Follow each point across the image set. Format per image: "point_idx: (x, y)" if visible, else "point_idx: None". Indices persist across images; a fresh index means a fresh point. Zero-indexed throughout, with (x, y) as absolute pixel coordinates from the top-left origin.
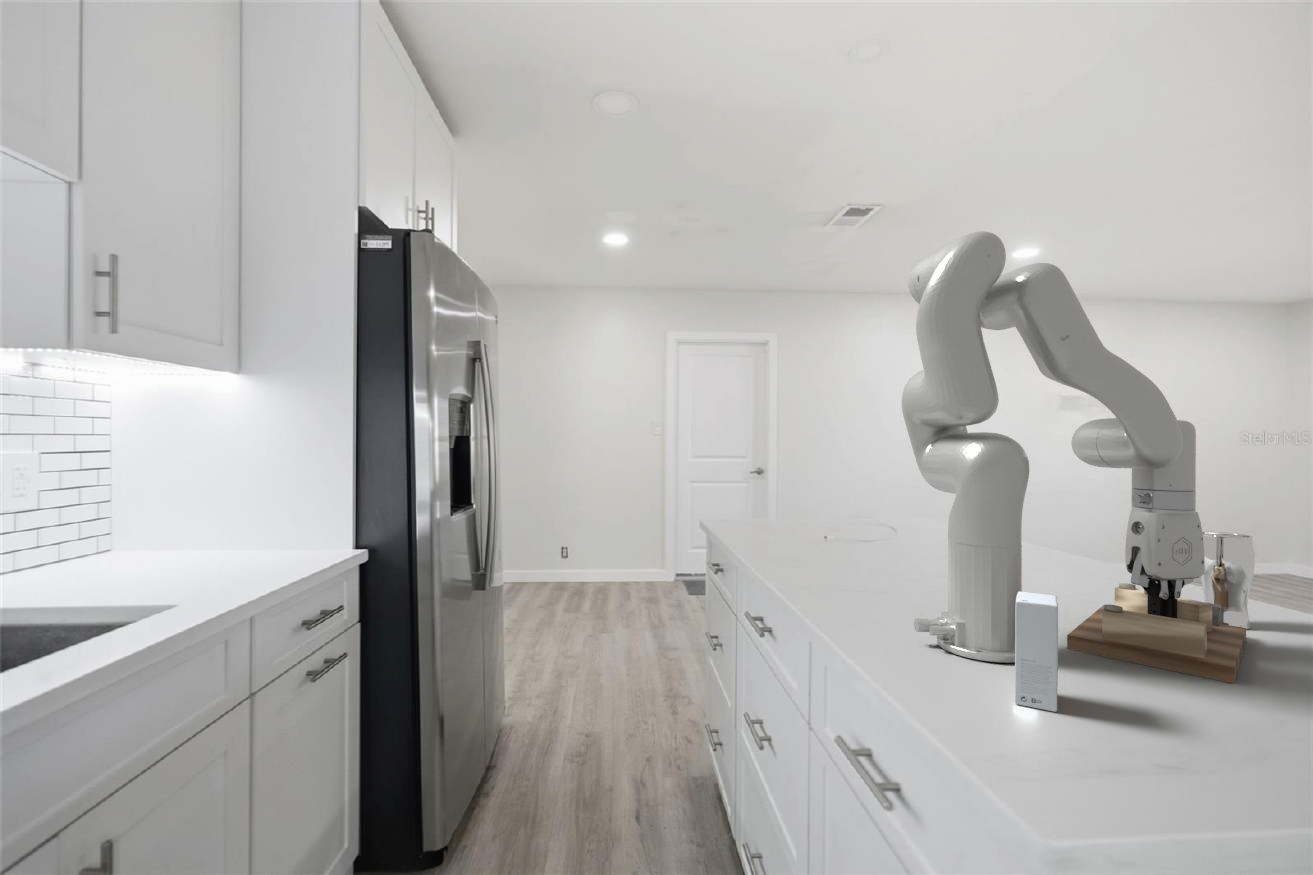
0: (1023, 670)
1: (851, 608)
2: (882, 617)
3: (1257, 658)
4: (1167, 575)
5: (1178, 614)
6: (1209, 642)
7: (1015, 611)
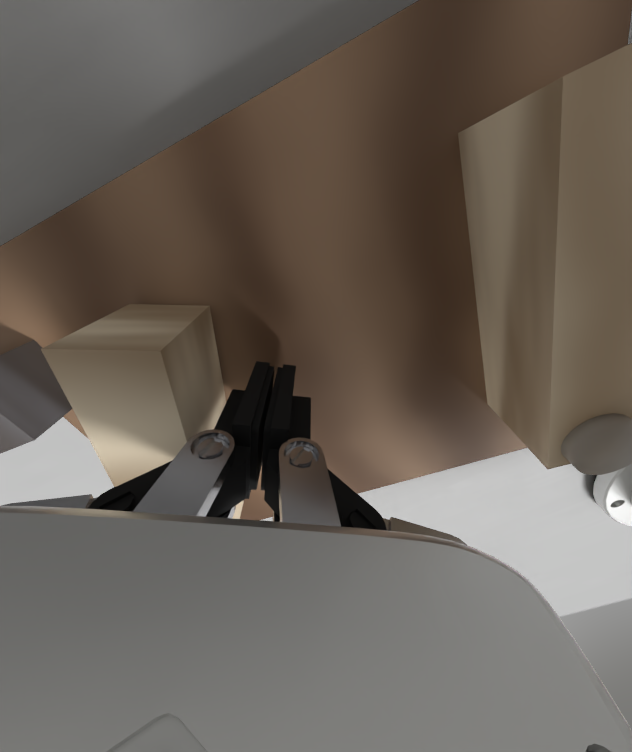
0: None
1: (567, 611)
2: (586, 584)
3: (114, 137)
4: (420, 571)
5: (204, 394)
6: (273, 229)
7: None
